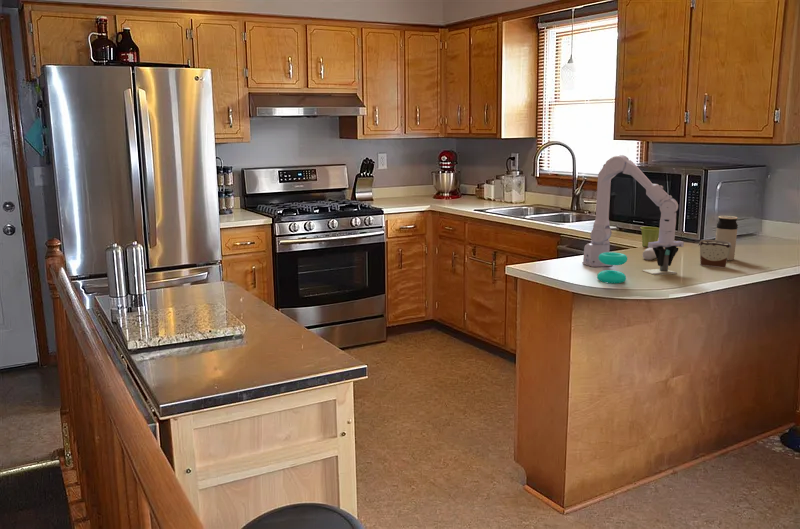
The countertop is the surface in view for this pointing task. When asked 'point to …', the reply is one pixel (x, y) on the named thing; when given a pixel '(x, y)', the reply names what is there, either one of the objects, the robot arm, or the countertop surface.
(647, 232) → the plant pot
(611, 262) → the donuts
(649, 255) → the tube
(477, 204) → the countertop surface
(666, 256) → the marker
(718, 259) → the food container
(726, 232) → the travel mug
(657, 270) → the notepad
